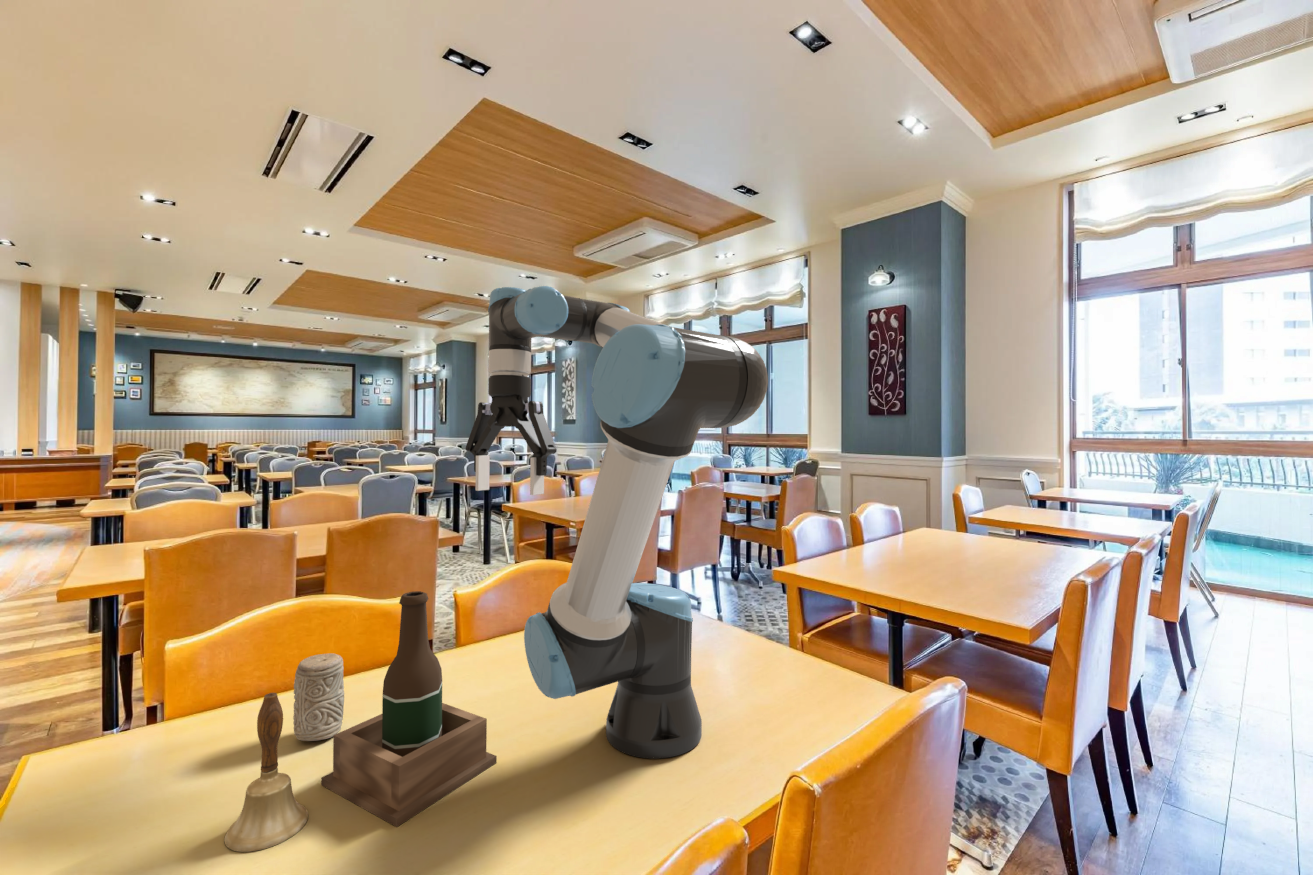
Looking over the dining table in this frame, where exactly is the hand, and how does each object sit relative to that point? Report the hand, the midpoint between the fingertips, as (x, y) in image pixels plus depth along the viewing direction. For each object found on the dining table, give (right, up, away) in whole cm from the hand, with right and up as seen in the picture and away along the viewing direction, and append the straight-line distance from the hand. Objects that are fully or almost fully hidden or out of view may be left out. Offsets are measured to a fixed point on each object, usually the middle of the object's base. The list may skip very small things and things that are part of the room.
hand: (508, 492), depth 105 cm
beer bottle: (-7, -36, -25) cm, 44 cm away
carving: (-26, -37, -15) cm, 47 cm away
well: (-7, -37, -25) cm, 45 cm away
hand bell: (-19, -37, -36) cm, 55 cm away
